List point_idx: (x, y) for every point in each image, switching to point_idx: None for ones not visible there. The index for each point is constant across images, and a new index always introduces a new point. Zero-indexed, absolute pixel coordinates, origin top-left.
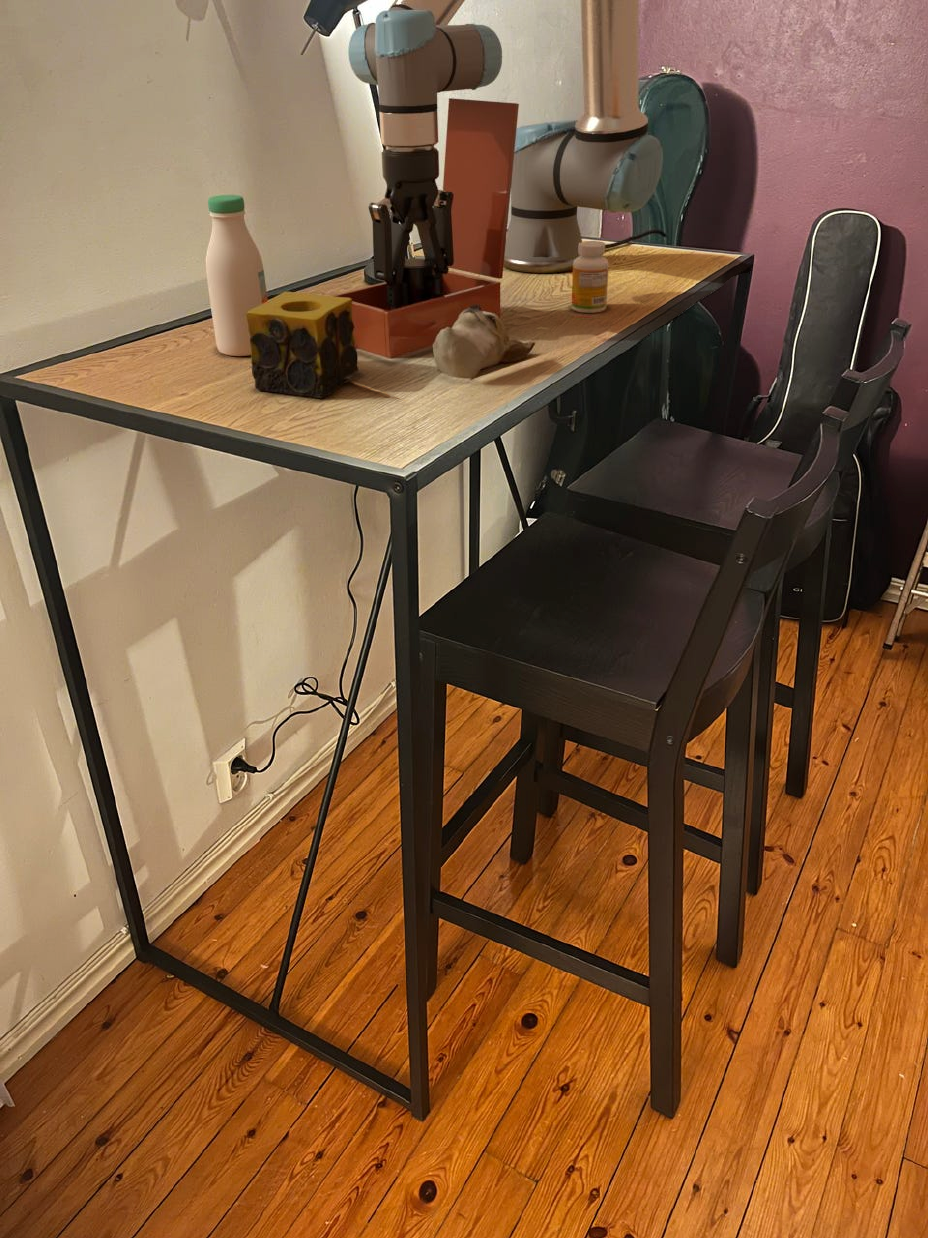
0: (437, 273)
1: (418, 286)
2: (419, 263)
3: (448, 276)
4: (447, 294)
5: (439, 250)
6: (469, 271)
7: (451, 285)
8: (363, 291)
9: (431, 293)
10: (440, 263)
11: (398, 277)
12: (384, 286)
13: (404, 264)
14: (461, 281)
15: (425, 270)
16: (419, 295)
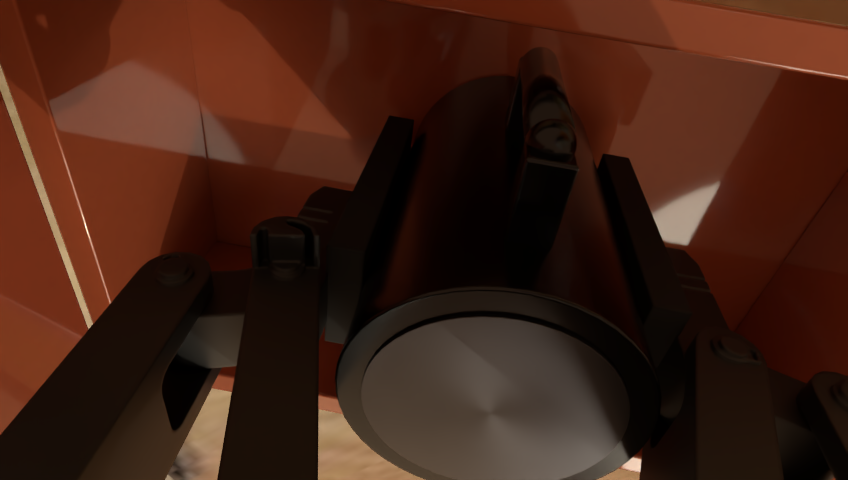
0: (320, 270)
1: (604, 236)
2: (502, 376)
3: None
4: (177, 247)
5: (255, 380)
6: (36, 196)
7: (146, 252)
8: None
9: (503, 166)
10: (286, 298)
11: (745, 364)
12: None
13: (703, 425)
14: (111, 209)
15: (564, 279)
16: (590, 200)
